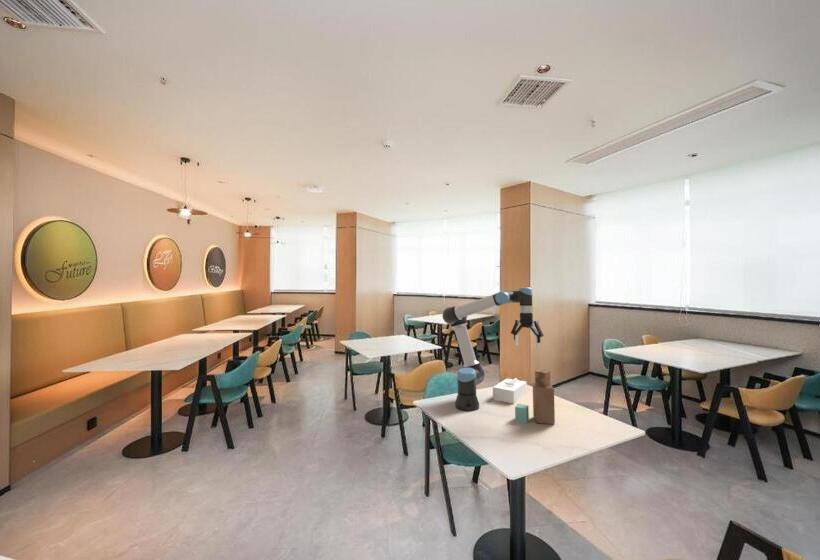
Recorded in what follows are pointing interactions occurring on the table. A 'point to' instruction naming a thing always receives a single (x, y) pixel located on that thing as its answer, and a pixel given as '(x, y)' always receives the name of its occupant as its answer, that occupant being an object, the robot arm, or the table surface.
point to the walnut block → (542, 378)
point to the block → (543, 404)
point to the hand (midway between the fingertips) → (526, 346)
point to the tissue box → (509, 390)
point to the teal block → (521, 413)
